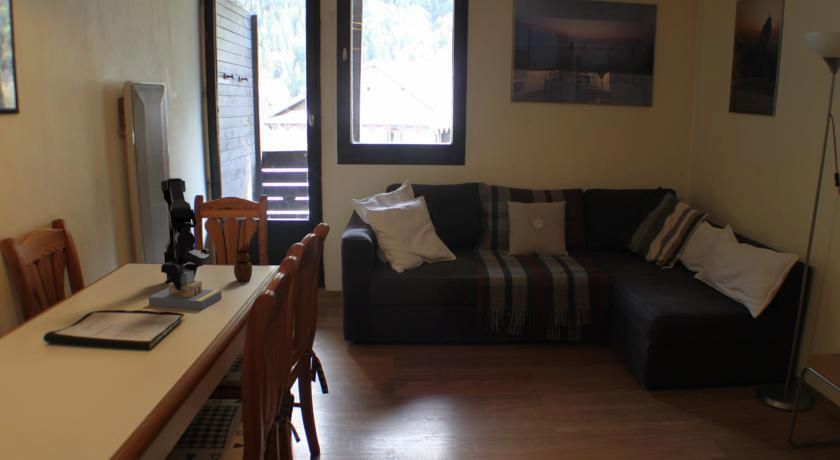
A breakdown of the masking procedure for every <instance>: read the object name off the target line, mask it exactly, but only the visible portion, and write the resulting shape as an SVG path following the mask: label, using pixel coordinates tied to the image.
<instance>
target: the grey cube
mask: <svg viewBox="0 0 840 460" xmlns="http://www.w3.org/2000/svg"><path fill="white" fill-rule="evenodd" d="M183 271H185V272H184V273H183V274H182V276H181V284H184V285H188V284H190V283H192V282H194V281H195V278H194V270H183Z"/></svg>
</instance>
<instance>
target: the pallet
mask: <svg viewBox="0 0 840 460" xmlns="http://www.w3.org/2000/svg"><path fill="white" fill-rule="evenodd" d="M168 288H169V295H173V296H185V297H194V296H195V295H198V293H202V289H203V284H202V281H201V280H194V282H192V283H190V284H188V285H184V284H181V289H180V290H177V289H176V287H175V286H174V284H173V282H172V283H168Z"/></svg>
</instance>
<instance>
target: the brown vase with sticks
mask: <svg viewBox="0 0 840 460" xmlns="http://www.w3.org/2000/svg"><path fill="white" fill-rule="evenodd" d="M248 246H249V244H248V242H246V244H244V243H243V244H242V246H240V248H238V249H237V253H236V255H235V258H236V262H235V263H234V266H233V274H234V277H235V279H236V280H237V281H238V282H241V281H242V282H243V281H245V282H248V281H250V280H251V279H252V274H253V266H252V265H253V264H252V263H251V262H250V261H249V260H250V254H249V253H248V252H249V248H248Z"/></svg>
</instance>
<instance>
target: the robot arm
mask: <svg viewBox="0 0 840 460" xmlns="http://www.w3.org/2000/svg"><path fill="white" fill-rule="evenodd" d="M159 185H160V186H159V190H160V194H161V196H162V198H163V201H165V202H166V205H167V206H166V207H167V223H168V241H167V243H166V245H165V246H164V249H165V250H164V251H163V258H162V261H163V264H162V265H160V271H161V273H164V274H166V280H164V283H167V284H169V283H172V282H173V284H174V286H175V287H176V289H177V290H180V289H181V276H182V274H183V273H184V272H185V271H183V270H194V279H195V278H196V274H197V271H198V269H199V268H200V267H203V266H204V265H207V262H208V260H209V259H210V258H211V256H210V249H208V248H203V249H201V250H200V249H199V250H198V249H196V246H195V243H196V238H195V234H193V232H192V228H193V229H195V228H196V225H197V217H196V212H195V211H194V209H193V208H192V207H191V204H190V203H189V202H188V201H186V198H185V194H184V193H185V192H186V191H187V189H186V180H183V179H182V178H180V177H176V178H175V177H173V178H172V177H171V178H168V179H166V180H162V181H160V183H159Z"/></svg>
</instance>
